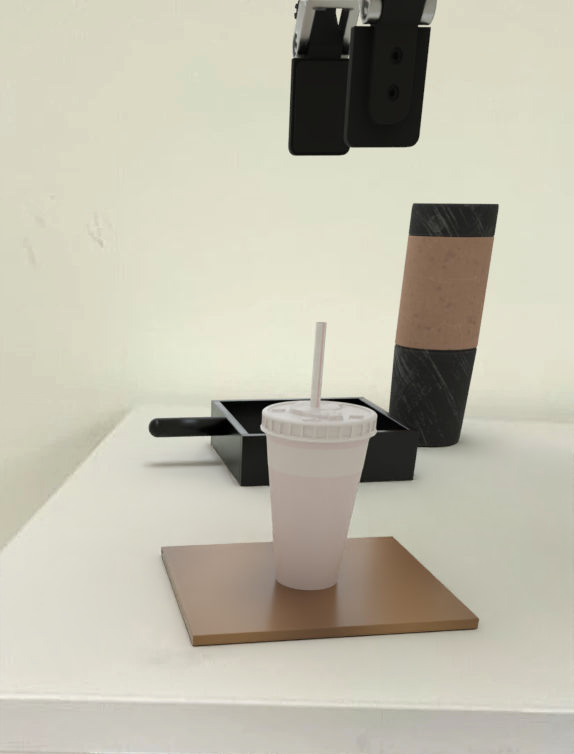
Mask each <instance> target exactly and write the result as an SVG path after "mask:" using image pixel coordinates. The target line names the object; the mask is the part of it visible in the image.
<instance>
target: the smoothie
mask: <svg viewBox="0 0 574 754" xmlns="http://www.w3.org/2000/svg"><path fill="white" fill-rule="evenodd" d="M327 324H328V322H326V321H316V322H315V331H314V347H313V360H312V372H311V376H312V377H311V387H310V398H311V399H310V401H290V402H282V403H276V404H272V405H270V406H267V407H266V408H264V409H263V411H262V424H261V426H260V427H261V430H262V431H263V432H264V433H266V437H267V455H268V469H269V484H270V485H269V496H270V497H269V498H270V512H271V526H272V527H271V528H272V542H273V544H274V558H275V573H276V580H277V581H278V582H279V583H280V584H282V585H284V586H286V587H289V588H293V589H299V590H321V589H326V588H329V587H332V586H333V585H335V584H336V582H337V578H338V574H339V569H340V565H341V561H342V556H343V552H344V548H345V543H346V539H347V538H348V533H349V530H350V526H351V521H352V516H353V512H354V507H355V503H356V499H357V494H358V490H359V487H360V478H361V473H362V469H363V466H364V461H365V456H366V451H367V447H368V442H369V439H370V438H371V437H372V436H374V435H375V434H376V432H377V430H376V423H377V414H376V412H374V411H373V410H371V409H369V408H367V407H363V406H360V405H355V404H350V403H343V402H334V401H321V398H322V386H323V375H324V361H325V350H326V349H325V348H326V338H327V334H326V333H327Z"/></svg>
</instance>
